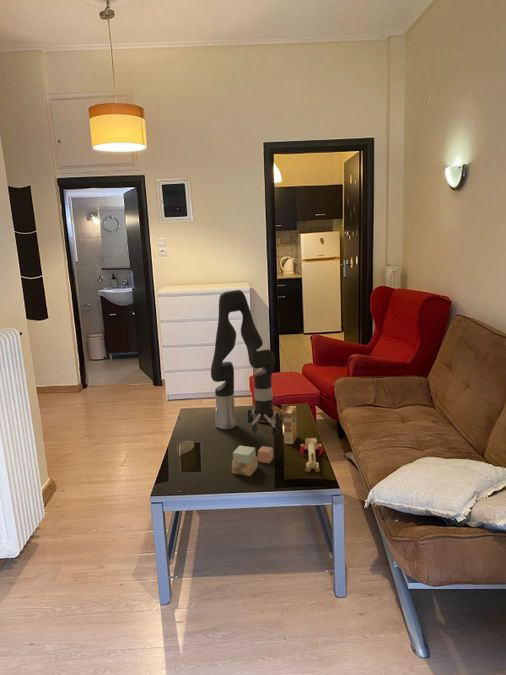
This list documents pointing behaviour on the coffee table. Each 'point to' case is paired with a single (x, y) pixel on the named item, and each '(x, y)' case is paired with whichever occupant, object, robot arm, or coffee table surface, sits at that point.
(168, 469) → the coffee table surface
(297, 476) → the coffee table surface
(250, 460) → the sage block
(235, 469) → the oak block
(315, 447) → the beige elongated piece
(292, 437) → the candy box
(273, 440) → the coffee table surface
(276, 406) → the bread roll
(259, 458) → the terracotta cube
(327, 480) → the coffee table surface
